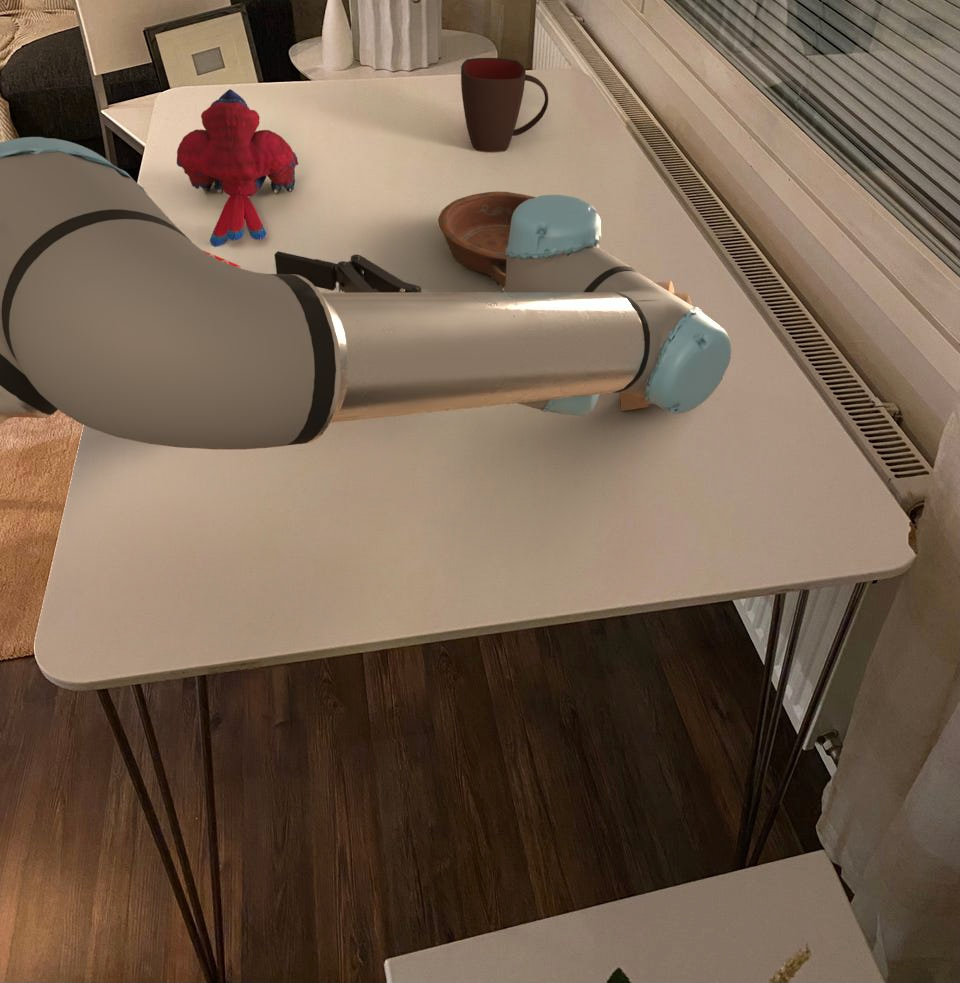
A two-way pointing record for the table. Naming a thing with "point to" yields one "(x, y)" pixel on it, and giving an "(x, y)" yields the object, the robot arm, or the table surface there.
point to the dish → (481, 230)
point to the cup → (495, 101)
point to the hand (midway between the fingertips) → (243, 295)
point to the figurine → (236, 163)
